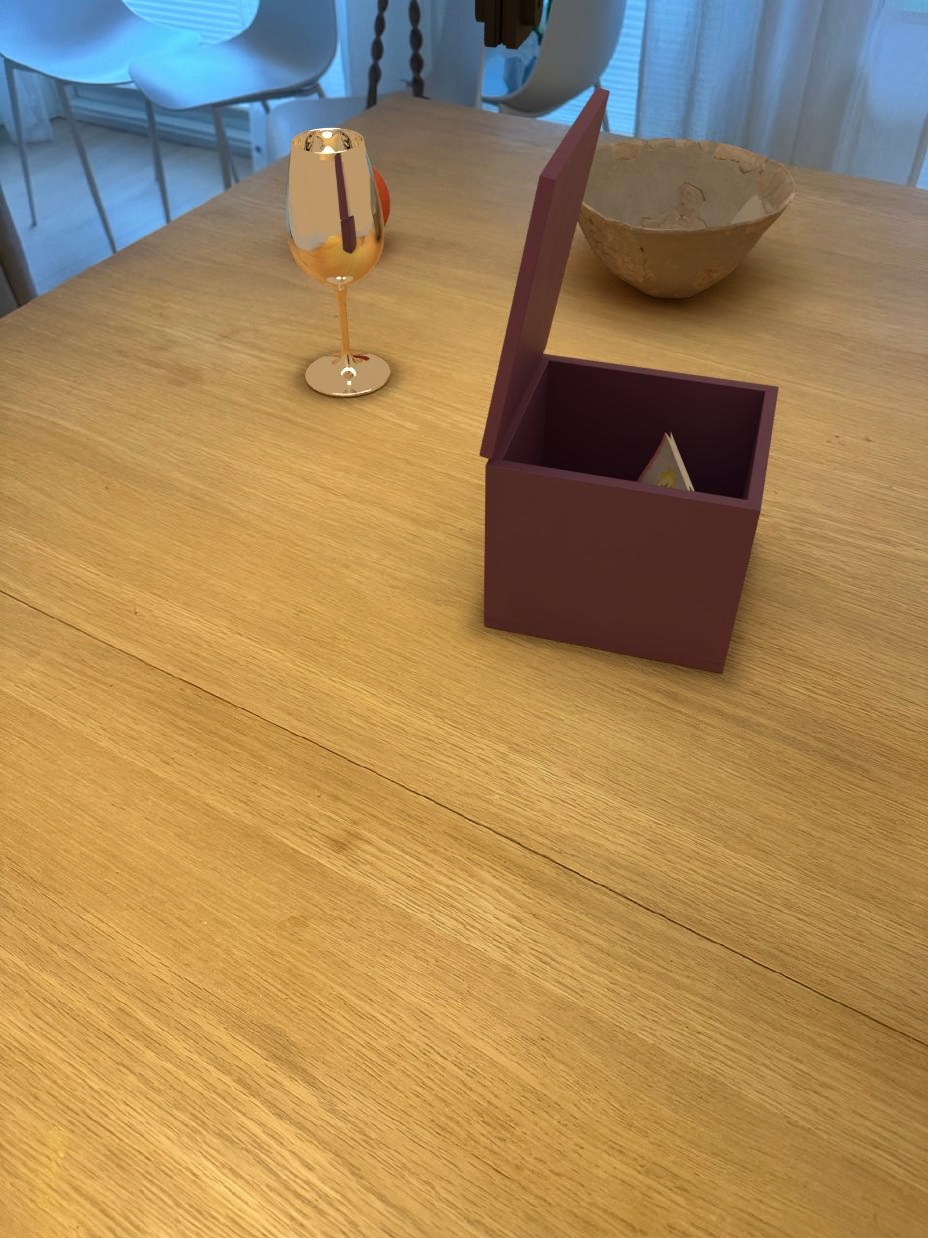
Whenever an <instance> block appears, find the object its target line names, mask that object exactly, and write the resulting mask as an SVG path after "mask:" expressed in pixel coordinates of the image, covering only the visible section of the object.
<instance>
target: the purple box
mask: <svg viewBox="0 0 928 1238" xmlns="http://www.w3.org/2000/svg"><path fill="white" fill-rule="evenodd" d="M779 388H780V387H779V386H777V385H770V384H762V383H756V382H749V381H743V380H734V379H728V378H721V377H713V376H706V375H698V374H691V373H685V372H677V371H671V370H670V371H669V370H664V369H663V370H662V369H656V368H649V367H642V366H634V365H627V364H621V363H613V362H608V361H607V362H606V361H599V360H592V359H586V358H585V359H584V358H577V357H570V356H564V355H555V354H549V353H543V355H542V357H541V359H540V361H539V363H538V365H537V367H536V369H535V372H534V374H533V376H532V378H531V380H530V382H529V384H528V386H527V388H526V390H525V392H524V394H523V396H522V399H521V401H520V403H519V405H518V407H517V409H516V411H515V413H514V415H513V417H512V419H511V421H510V423H509V426H508V428H507V430H506V432H505V434H504V436H503V438H502V440H501V442H500V444H499V446H498V448H497V450H496V453H495V455H494V457H493V459H492V460H490V459H487V461H486V463H485V465H484V466H485V469H484V471H485V473H484V479H485V480H484V548H483V549H484V552H483V553H484V555H483V556H484V561H483V563H484V564H483V627H486V628H491V629H496V630H501V631H507V632H511V633H516V634H520V635H521V634H522V635H526V636H532V637H536V638H541V639H547V640H552V641H556V642H561V643H562V642H563V643H567V644H572V645H577V646H582V647H587V648H592V649H597V650H602V651H608V652H612V653H617V654H622V655H627V656H631V657H632V656H633V657H638V658H643V659H647V660H653V661H658V662H663V663H667V664H673V665H678V666H683V667H688V668H693V669H699V670H703V671H708V672H713V673H719V674H723V673H724V669H725V664H726V661H727V656H728V653H729V647H730V644H731V640H732V635H733V631H734V627H735V623H736V618H737V613H738V610H739V605H740V601H741V597H742V592H743V588H744V584H745V580H746V576H747V572H748V567H749V562H750V558H751V556H752V555H751V554H752V549H753V546H754V541H755V537H756V533H757V528H758V525H759V520H760V516H761V511H762V505H763V498H764V491H765V483H766V477H767V470H768V464H769V457H770V452H771V451H770V449H771V443H772V436H773V429H774V424H775V423H774V422H775V416H776V409H777V402H778V394H779ZM665 432H666V434H667V435H668V436H669V438H670V435H671V434H672V436H673V439H674V441H675V444H676V446H677V449H678V451H679V454H680V456H681V459H682V461H683V464H684V466H685V469H686V471H687V474H688V476H689V479H690V481H691V484H692V486H693V489H694V491H688V490H682V489H676V488H670V487H664V486H658V485H652V484H646V483H639V482H636V481H637V480H638V478H639V477H640V475H641V474H642V472H643V471H644V469H645V468H646V466H647V465H648V464H649V462H650V461H651V459H652V458H653V456H654V454H655V453H656V451H657V449H658V447H659V445H660V444H661V442H662V439H663V436H664V434H665Z"/></svg>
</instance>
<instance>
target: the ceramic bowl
mask: <svg viewBox="0 0 928 1238" xmlns="http://www.w3.org/2000/svg"><path fill="white" fill-rule="evenodd" d="M797 188H798V187H797V185H796V182H795V180H794V178H793V176H792V175H791V173H790V171H789V170H788V169H787V167H786V166H785V165H784V164H782V163H781V162H779V161H777V160H775V159H773V158H769V159H768V157H767V156H766V155H764V154H758V153H755V152H753V151H750V150H749V149H745V148H742V147H740V146H735V145H732V144H728V143H725V142H724V143H723V142H717V141H714V140H709V141H708V140H703V139H700V140H698V141H697V140H696V139H695V138H677V139H675V138H671V137H663V138H662V137H660V138H658V137H657V138H656V137H655V138H650V139H648V140H647V141H645V140H644V139H630V140H624V141H619V142H614V143H608V142H607V143H604V144H602V145H598V146H596V150H595V154H594V158H593V162H592V166H591V170H590V174H589V178H588V182H587V186H586V190H585V194H584V198H583V202H582V206H581V210H580V214H579V218H578V222H577V224H578V225H579V227H580V229H581V232H582V234H583V237H584V240H585V241H586V242H587V244H588V246H589V247H590V249H591V250H592V252H593V254H594V255H595V257H596V259H598V261H599V262H600V263H601V264H602V265H603V267H604V268H605V269H606V270H608V271H609V272H610V274H612V275H614V277H617V278H618V279H620V280H621V281H623V282H625V283H626V284H628V285H629V286H631V287H633V288H635V289H637V290H638V291H640V292H642V293H644V294H645V295H648V296H650V297H653V298H660V299H685V298H690V297H694V296H695V295H697V294H700V293H701V292H703V291H705V290H708V289H709V288H711V286H713V285H715V284H716V283H717V282H720V281H721V280H724V278H726V277H727V276H729V275H730V274H731V273H732V272H733V271H734V270H735V269H736V268H737V266H739V264H740V263H741V262H743V260H744V259H745V258H746V256H747V255H748V254H750V252H751V251H752V250H753V249H754V248H755V246H756V245H757V244H758V242H759V241H760V239H761V238H762V237H763V235H764V234H765V233H766V232H767V231H768V229H769V228H770V227H771V226H772V225H774V223H775V222H776V221H777V220H778V219H780V217H781V215H782V214H783V213H784V211H785V210H786V209H787V208H788V207H789V206H790V204H791V203H792V202H793V200H794V199H795V197H796V194H797V190H798V189H797Z"/></svg>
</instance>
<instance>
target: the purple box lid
mask: <svg viewBox="0 0 928 1238" xmlns="http://www.w3.org/2000/svg"><path fill="white" fill-rule="evenodd" d="M610 91H611V90H609V89H605V88H603V87H602V88H601V87H598V86H597V87H595V89H594V90H593V92H592V94H591V95H590V97H589V99H588V100H587V102H586V103H585V104H584V106H583V108H582V109H581V111H580V113H579V114H578V115H577V116H576V118H575V120H574V122H573V123H572V124H571V126H570V128H569V129H568V131H567V132H566V134H565V135H564V137H563V138H562V140H561V142H560V143H559V145H558V146H557V147H556V149H555V150H554V153H553V154H552V156H551V157H550V159H549V160H548V161H547V163H546V165H545V167H544V168H543V169H542V171H541V172H540V174H539V177H538V182H537V187H536V190H535V195H534V200H533V204H532V209H531V214H530V219H529V223H528V226H527V231H526V237H525V241H524V245H523V251H522V255H521V259H520V264H519V269H518V274H517V279H516V283H515V287H514V292H513V297H512V302H511V306H510V310H509V316H508V320H507V325H506V329H505V333H504V338H503V343H502V348H501V352H500V357H499V361H498V365H497V371H496V376H495V380H494V385H493V390H492V394H491V397H490V403H489V408H488V411H487V412H488V413H487V417H486V422H485V426H484V430H483V436H482V439H481V440H482V441H481V443H480V444H481V445H480V449H479V457H481V458H484V459H487V460H488V459H490V460H492V459H493V457H494V455H495V453H496V450H497V448H498V446H499V444H500V442H501V440H502V438H503V436H504V434H505V432H506V430H507V428H508V426H509V423H510V421H511V419H512V417H513V415H514V413H515V411H516V409H517V407H518V405H519V403H520V401H521V399H522V396H523V394H524V392H525V390H526V388H527V386H528V384H529V382H530V380H531V378H532V376H533V374H534V372H535V369H536V367H537V365H538V363H539V361H540V359H541V357H542V355H543V354H545V353H544V352H545V351H546V348H547V345H548V341H549V338H550V334H551V329H552V325H553V321H554V317H555V314H556V310H557V306H558V301H559V297H560V293H561V289H562V285H563V281H564V278H565V274H566V268H567V266H568V262H569V257H570V253H571V250H572V249H571V248H572V245H573V242H574V237H575V233H576V230H577V225H578V218H579V214H580V210H581V206H582V202H583V198H584V194H585V190H586V186H587V182H588V178H589V174H590V170H591V166H592V162H593V158H594V154H595V150H596V147H598V146H597V145H598V141H599V137H600V133H601V129H602V125H603V121H604V118H605V113H606V109H607V105H608V102H609V98H610V93H611V92H610Z"/></svg>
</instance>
